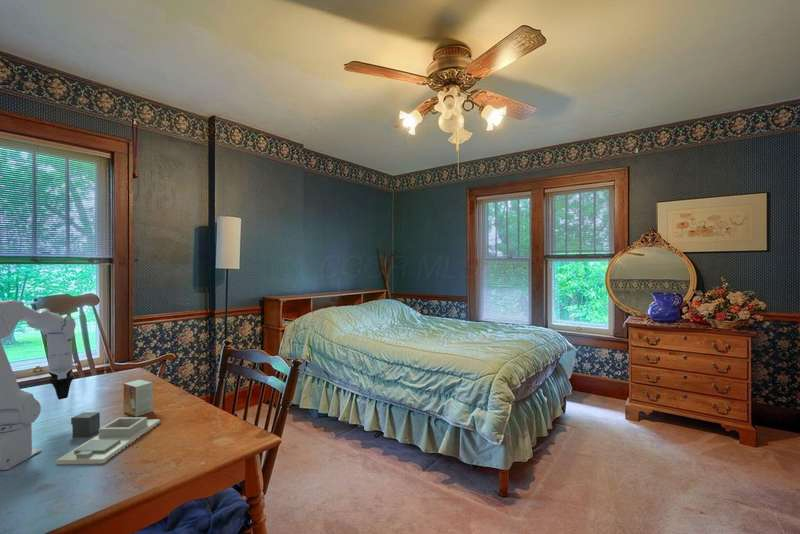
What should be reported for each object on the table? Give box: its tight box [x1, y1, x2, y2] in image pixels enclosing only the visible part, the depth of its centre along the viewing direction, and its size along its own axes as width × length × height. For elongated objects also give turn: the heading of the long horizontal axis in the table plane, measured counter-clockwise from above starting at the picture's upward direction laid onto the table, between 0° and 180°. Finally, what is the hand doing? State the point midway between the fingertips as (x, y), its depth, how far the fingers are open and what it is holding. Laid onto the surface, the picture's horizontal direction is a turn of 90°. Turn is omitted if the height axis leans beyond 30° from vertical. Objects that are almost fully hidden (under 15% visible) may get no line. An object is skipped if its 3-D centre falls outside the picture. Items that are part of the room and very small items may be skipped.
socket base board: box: [56, 416, 161, 465], centre depth 108 cm, size 24×12×4 cm, turn 2°
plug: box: [70, 411, 101, 438], centre depth 112 cm, size 4×6×6 cm, turn 92°
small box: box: [123, 379, 154, 417], centre depth 128 cm, size 8×6×10 cm
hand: (62, 394), depth 117 cm, fingers open, 7 cm apart
